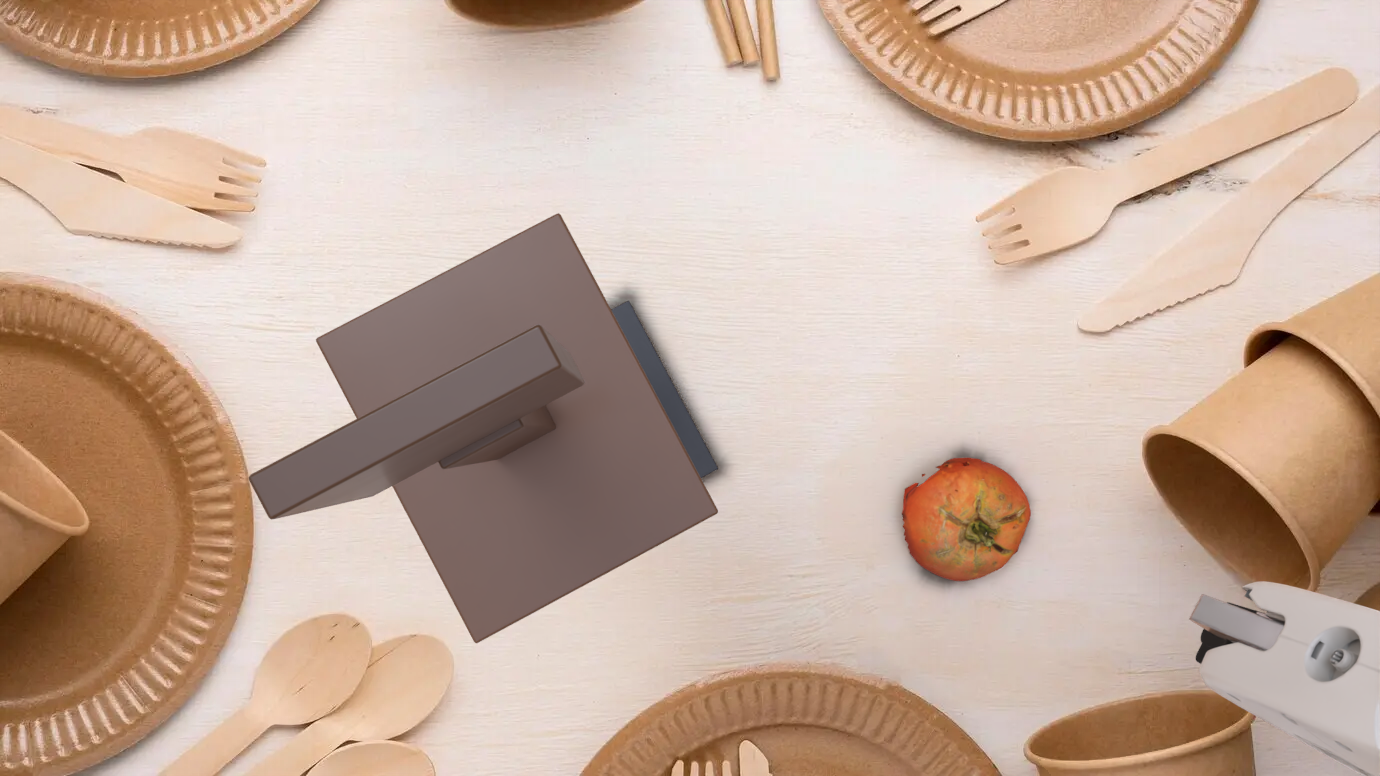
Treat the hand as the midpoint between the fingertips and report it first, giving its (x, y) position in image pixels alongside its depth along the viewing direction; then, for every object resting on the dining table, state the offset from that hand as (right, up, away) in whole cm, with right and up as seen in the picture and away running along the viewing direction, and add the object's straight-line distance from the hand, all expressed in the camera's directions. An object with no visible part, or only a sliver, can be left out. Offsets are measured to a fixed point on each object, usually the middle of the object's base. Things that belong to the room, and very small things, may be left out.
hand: (1223, 639), depth 50 cm
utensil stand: (-32, +9, +16) cm, 37 cm away
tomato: (-8, +4, +17) cm, 19 cm away
